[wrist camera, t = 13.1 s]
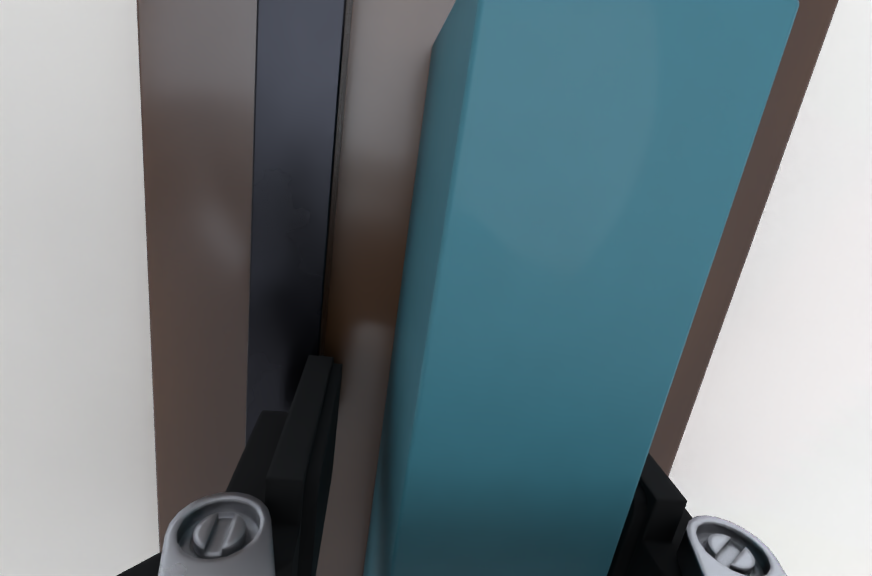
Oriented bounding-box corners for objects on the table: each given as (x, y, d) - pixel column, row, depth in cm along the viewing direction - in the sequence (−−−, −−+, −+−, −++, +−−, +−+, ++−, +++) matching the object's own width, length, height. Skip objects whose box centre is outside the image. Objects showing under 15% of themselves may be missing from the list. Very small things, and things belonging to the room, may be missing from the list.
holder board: (175, 659, 16) (145, 733, 14) (148, -184, 9) (82, -268, 7) (584, 664, 17) (608, 730, 16) (823, -34, 11) (917, -69, 9)
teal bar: (432, 43, 10) (488, -70, 4) (573, 68, 10) (805, -3, 4) (357, 620, 15) (334, 933, 9) (453, 622, 15) (491, 924, 9)
